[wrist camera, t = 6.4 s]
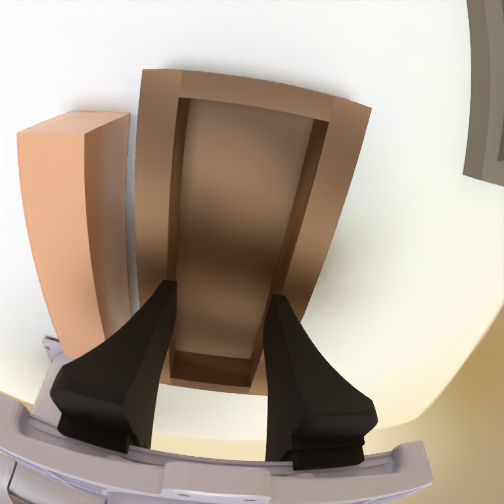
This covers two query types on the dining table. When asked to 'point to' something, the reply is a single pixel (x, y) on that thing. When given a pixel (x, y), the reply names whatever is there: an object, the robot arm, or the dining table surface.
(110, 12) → the dining table surface
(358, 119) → the tray
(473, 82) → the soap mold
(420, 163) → the dining table surface
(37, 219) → the clay block
